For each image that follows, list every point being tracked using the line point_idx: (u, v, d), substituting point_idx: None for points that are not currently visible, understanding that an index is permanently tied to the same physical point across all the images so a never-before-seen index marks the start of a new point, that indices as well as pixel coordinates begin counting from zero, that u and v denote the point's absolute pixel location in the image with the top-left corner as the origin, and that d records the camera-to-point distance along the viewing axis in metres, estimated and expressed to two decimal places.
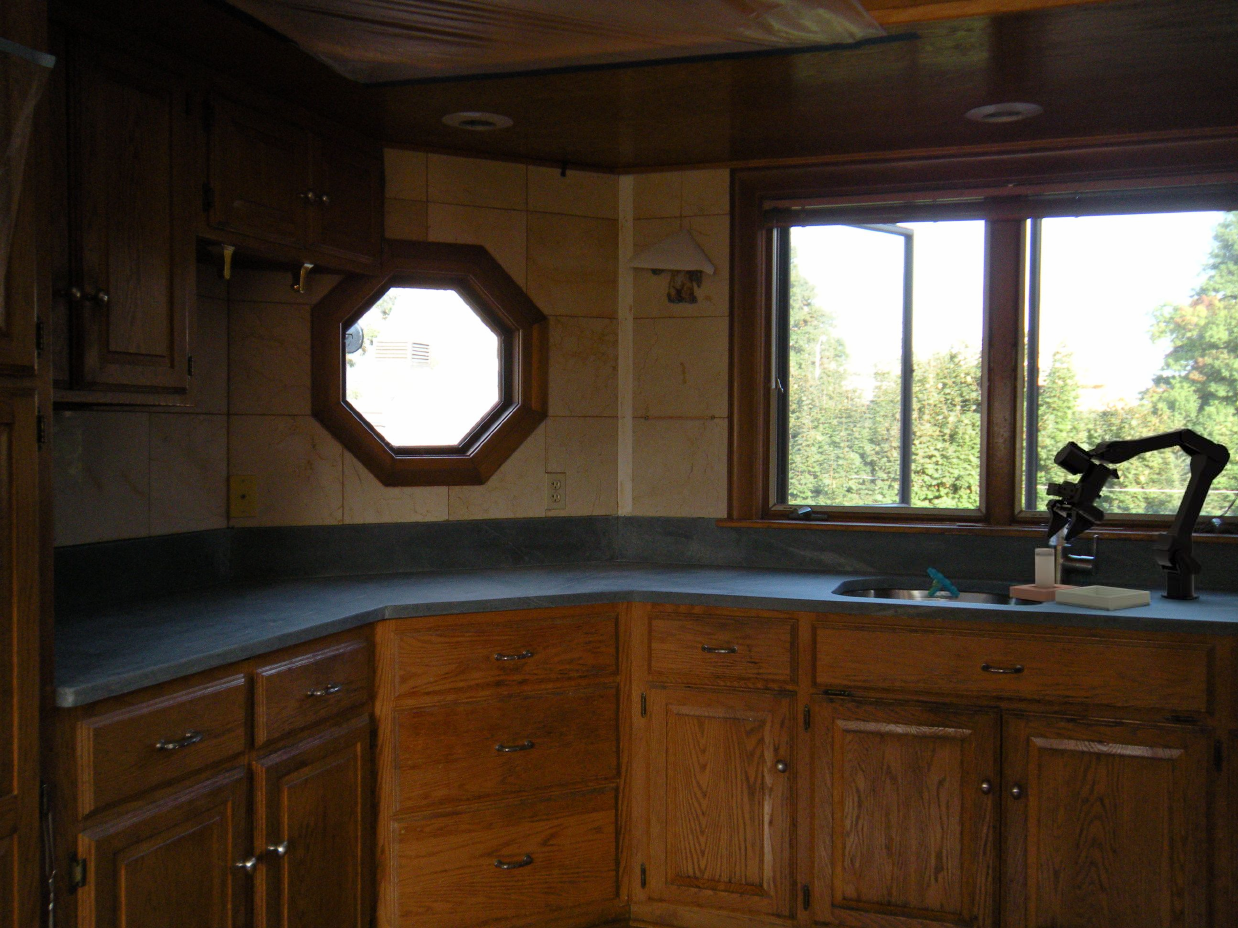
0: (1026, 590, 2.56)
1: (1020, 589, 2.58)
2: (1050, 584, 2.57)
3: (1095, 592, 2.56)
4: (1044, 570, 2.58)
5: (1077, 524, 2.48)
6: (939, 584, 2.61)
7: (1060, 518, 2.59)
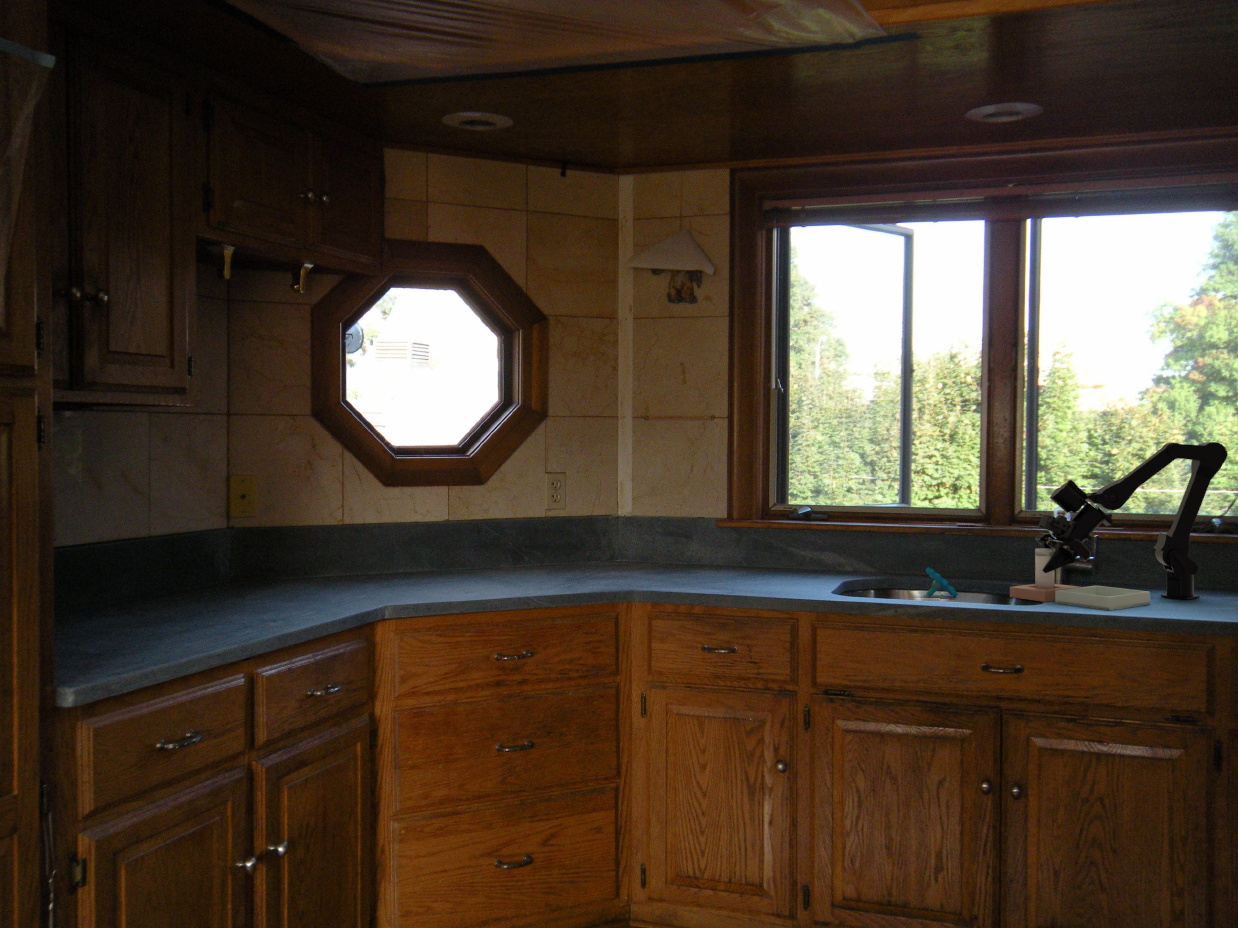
0: (1026, 590, 2.56)
1: (1020, 589, 2.58)
2: (1050, 584, 2.57)
3: (1095, 592, 2.56)
4: None
5: (1058, 558, 2.56)
6: (937, 584, 2.61)
7: None
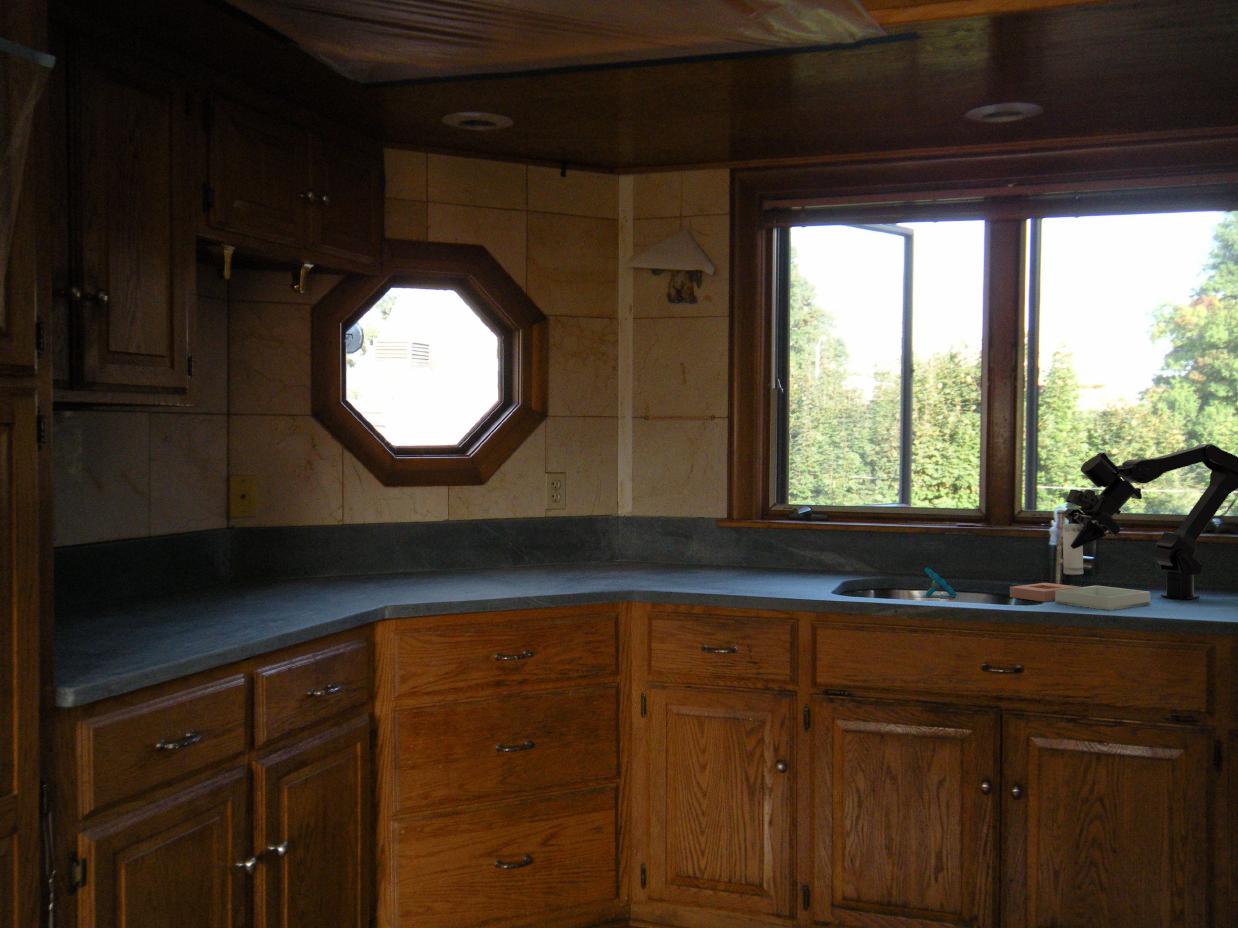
0: (1026, 590, 2.56)
1: (1020, 589, 2.58)
2: (1078, 560, 2.51)
3: (1095, 592, 2.56)
4: None
5: (1087, 533, 2.50)
6: (936, 584, 2.61)
7: None
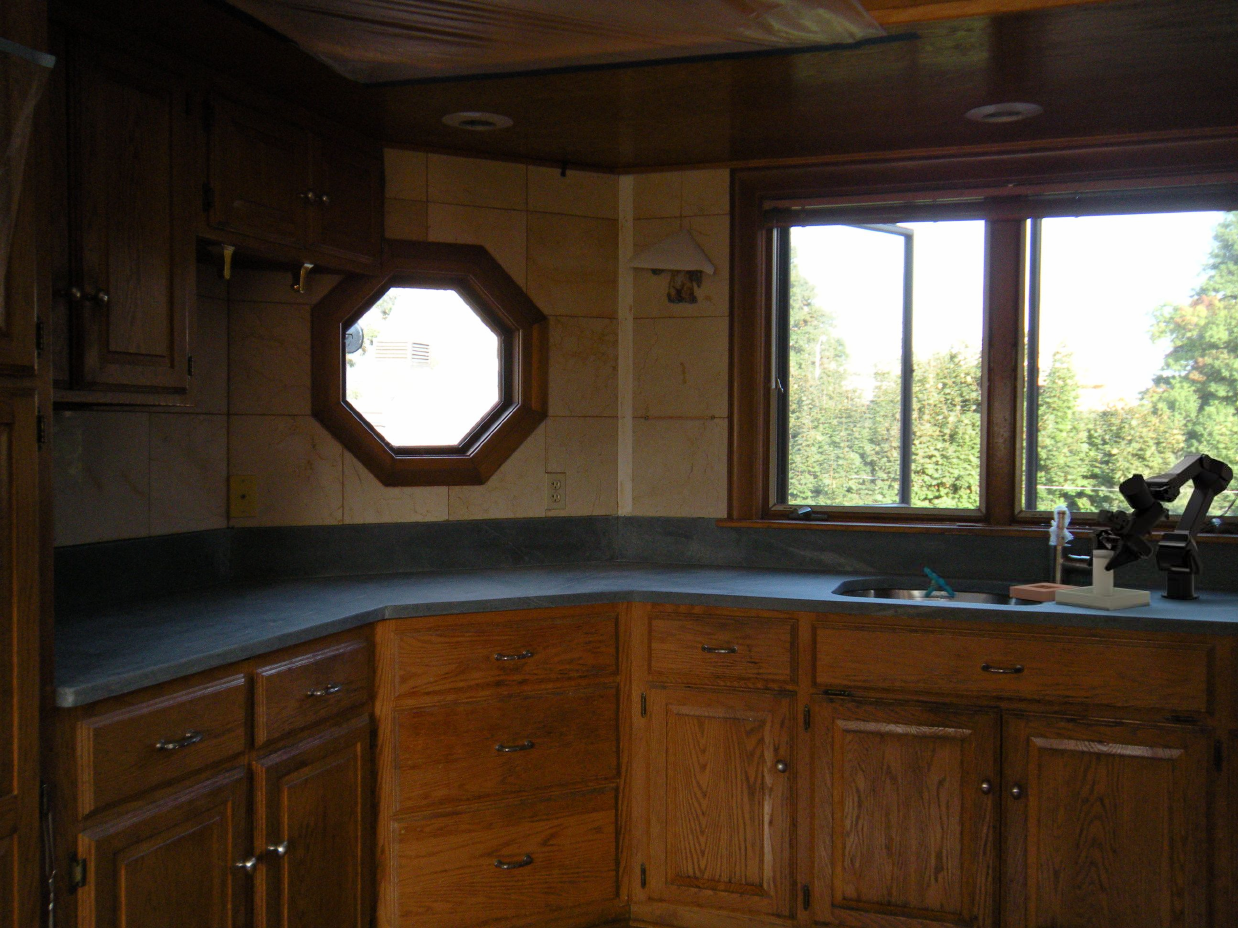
0: (1026, 590, 2.56)
1: (1020, 589, 2.58)
2: (1108, 588, 2.45)
3: None
4: (1103, 573, 2.45)
5: (1121, 555, 2.42)
6: (935, 584, 2.61)
7: (1104, 549, 2.52)
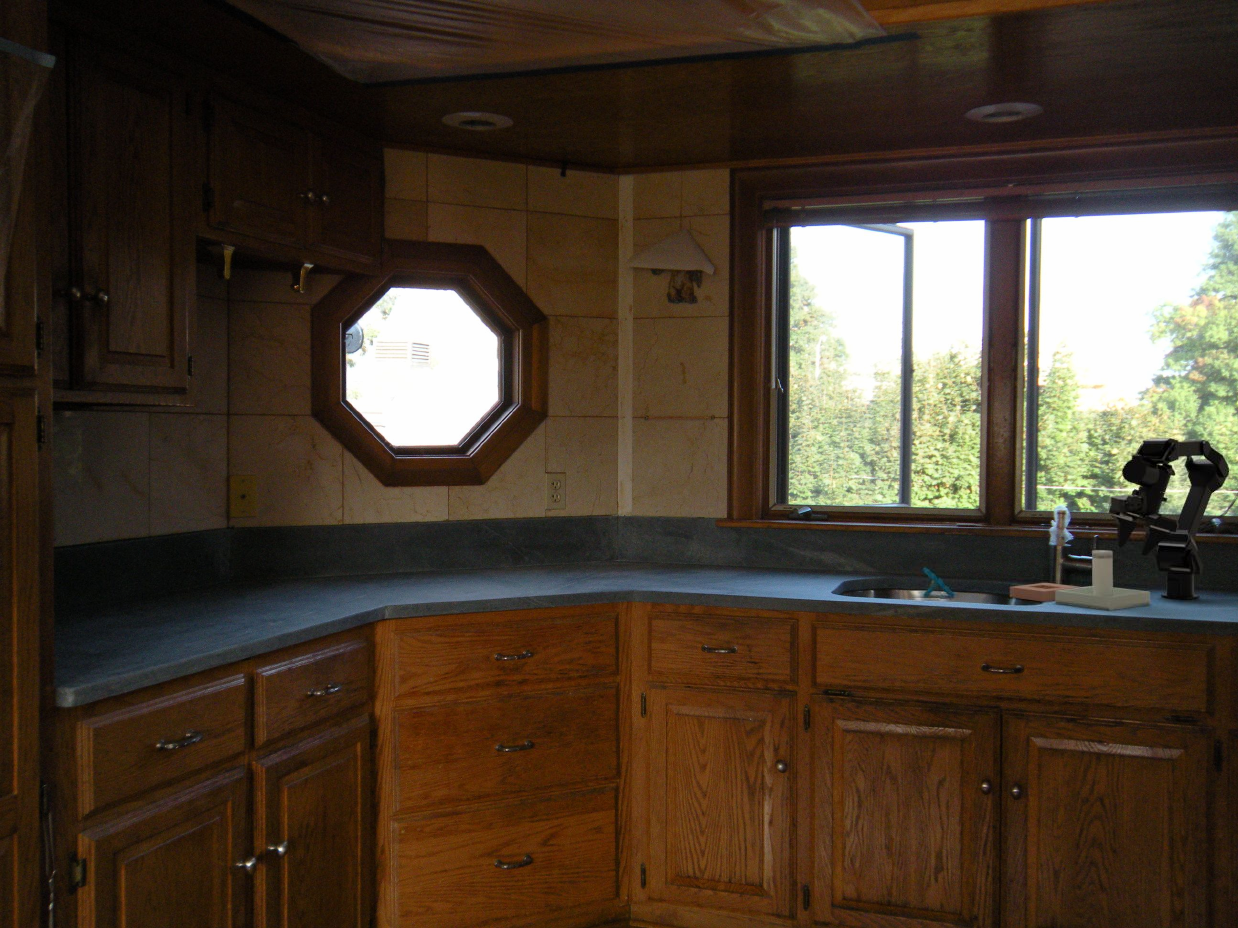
0: (1026, 590, 2.56)
1: (1020, 589, 2.58)
2: (1108, 588, 2.45)
3: None
4: (1102, 573, 2.45)
5: (1152, 537, 2.44)
6: (934, 584, 2.61)
7: (1127, 524, 2.55)
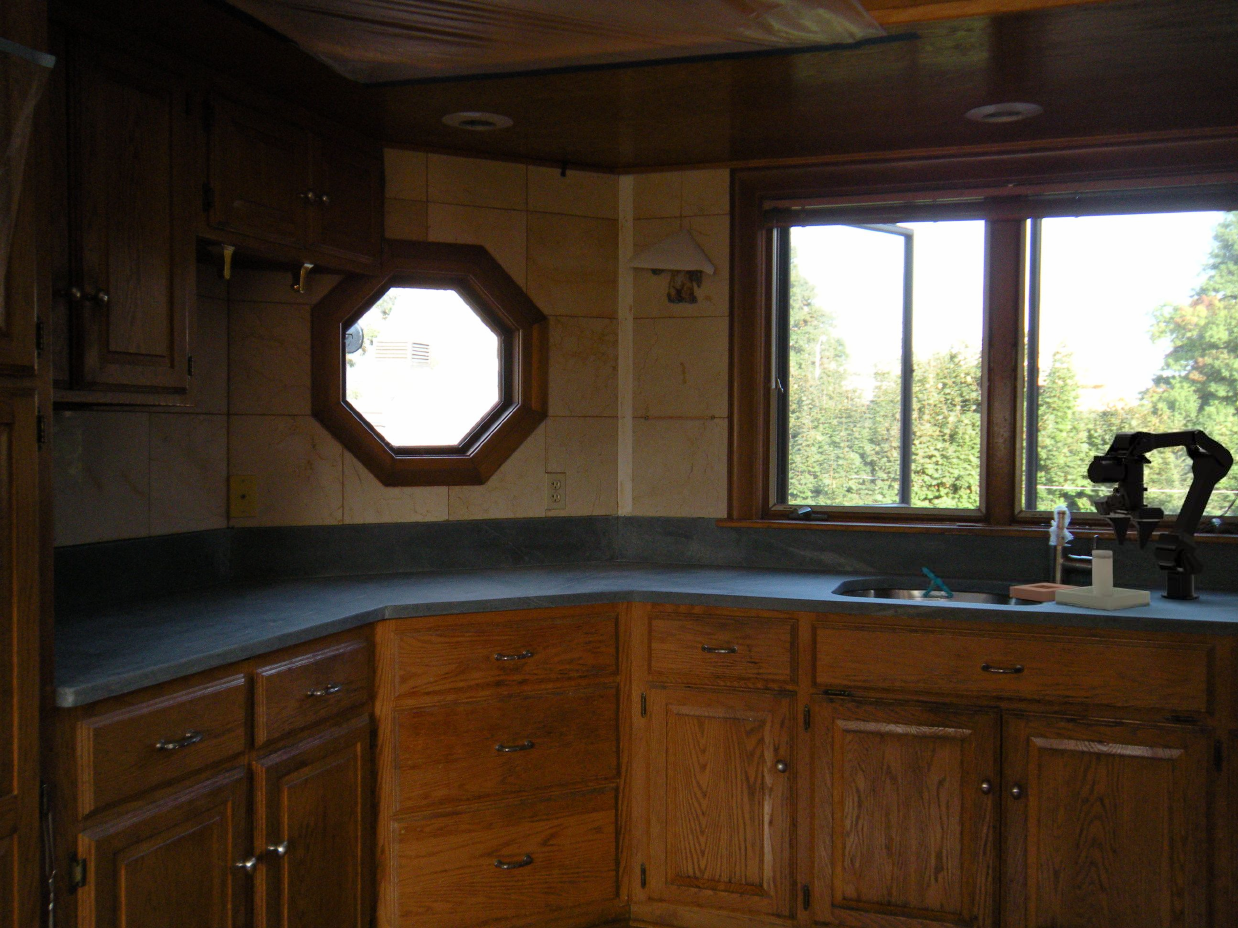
0: (1026, 590, 2.56)
1: (1020, 589, 2.58)
2: (1108, 587, 2.45)
3: None
4: (1102, 573, 2.45)
5: (1143, 529, 2.46)
6: (933, 584, 2.61)
7: (1120, 521, 2.57)
